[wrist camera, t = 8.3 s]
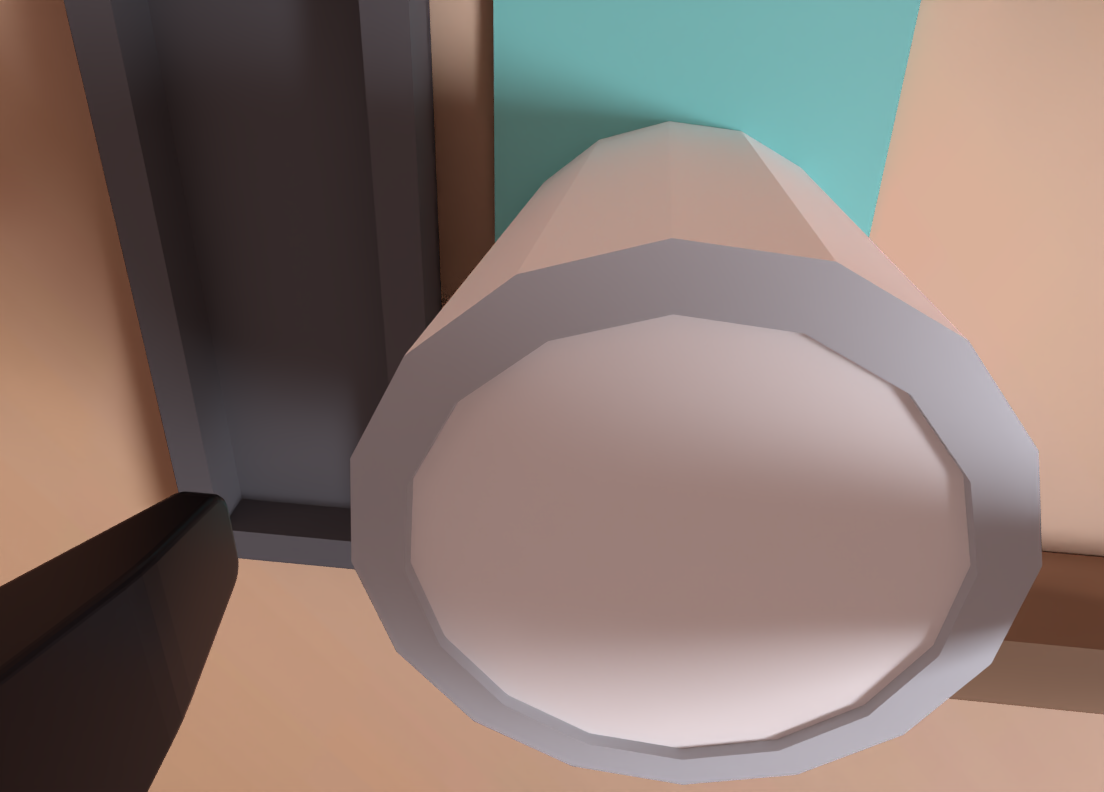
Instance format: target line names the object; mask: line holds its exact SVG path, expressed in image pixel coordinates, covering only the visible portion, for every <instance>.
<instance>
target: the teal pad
mask: <svg viewBox="0 0 1104 792" xmlns="http://www.w3.org/2000/svg"><path fill="white" fill-rule="evenodd" d="M920 2H921V0H493V27H494V176H495V242H496V241H497V240H498V239H499V238H500V236H501V235H502V234H503V233H504V231H505V230H506V229H507V228H508V226H509V225H510V224H511V223H512V221H513V220H514V219H515V218H516V216H517V215H518V214H519V213H520V211H521V210H522V209H523V208H524V207H525V205H526V204H527V203H528V202H529V200H530V199H531V198H532V197H533V195H534V194H535V193H536V192H537V190H538V189H539V188H540V187H541V185H542V184H543V183H544V182H545V181H546V180H547V179H549V178H550V177H551V176H553V175H554V174H555V173H556V172H558V171H559V170H560V169H562V168H563V167H564V166H566V165H567V164H568V163H569V162H571V161H572V160H573V159H575V158H576V157H577V156H579V155H580V154H581V153H582V152H584V151H585V150H586V149H588V148H589V147H590V146H592V145H593V144H594V143H596V142H597V141H598V140H600V139H604V138H607V137H611V136H615V135H619V134H622V133H626V132H630V131H634V130H637V129H641V128H645V127H649V126H653V125H656V124H660V123H664V122H668V121H672V122H679V123H686V124H694V125H701V126H708V127H715V128H723V129H730V130H737V131H742V132H743V133H745V134H747V135H748V136H750V137H752V138H753V139H755V140H757V141H758V142H760V143H761V144H763V145H765V146H766V147H768V148H770V149H771V150H773V151H775V152H776V153H778V154H779V155H781V156H783V157H784V158H786V159H788V160H789V161H791V162H792V163H794V164H796V165H797V166H799V167H801V168H802V169H803V170H804V171H805V172H806V173H807V174H808V175H809V177H810V178H811V179H812V180H813V181H814V182H815V183H816V184H817V185H818V186H819V187H820V188H821V189H822V190H823V191H824V192H825V193H826V194H827V195H828V196H829V197H830V198H831V199H832V200H833V201H834V202H835V203H836V204H837V205H838V206H839V207H840V208H841V210H842V211H843V212H844V213H845V214H846V215H847V216H848V217H849V218H850V219H851V220H852V221H853V222H854V223H855V224H856V225H857V226H858V227H859V228H860V229H861V230H862V231H863V232H864V233H865V234H866V235H867V236H868V237H869V235H870V230H871V225H872V221H873V216H874V212H875V207H876V203H877V198H878V194H879V189H880V184H881V180H882V175H883V171H884V166H885V162H886V157H887V152H888V148H889V143H890V139H891V134H892V130H893V125H894V121H895V116H896V111H897V107H898V102H899V98H900V93H901V89H902V84H903V79H904V75H905V70H906V66H907V61H908V57H909V52H910V47H911V43H912V38H913V34H914V29H915V25H916V20H917V16H918V11H919V6H920Z"/></svg>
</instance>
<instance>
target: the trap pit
mask: <svg viewBox="0 0 1104 792" xmlns="http://www.w3.org/2000/svg"><path fill="white" fill-rule="evenodd" d="M64 4H65V8H66V12H67V17H68V21H69V25H70V29H71V34H72V38H73V42H74V46H75V51H76V55H77V59H78V64H79V68H80V72H81V76H82V81H83V85H84V89H85V94H86V98H87V102H88V106H89V111H90V115H91V119H92V124H93V128H94V132H95V136H96V141H97V145H98V149H99V153H100V158H101V162H102V166H103V171H104V175H105V179H106V183H107V188H108V192H109V196H110V201H111V205H112V209H113V213H114V218H115V222H116V226H117V231H118V235H119V239H120V243H121V248H122V252H123V256H124V260H125V265H126V269H127V273H128V278H129V282H130V286H131V290H132V295H133V299H134V303H135V308H136V312H137V316H138V320H139V325H140V329H141V333H142V338H143V342H144V346H145V350H146V355H147V359H148V363H149V367H150V372H151V376H152V380H153V385H154V389H155V393H156V397H157V402H158V406H159V410H160V415H161V419H162V423H163V427H164V432H165V436H166V440H167V445H168V449H169V453H170V457H171V462H172V466H173V470H174V474H175V479H176V483H177V487H178V492H186V491H188V492H199V493H211V494H217V495H219V496H221V497H222V498H223V499H224V500H225V502H226V504H227V507H228V510H229V515H230V520H231V525H232V530H233V535H234V540H235V545H236V550H237V555H238V558H242V559H253V560H263V561H273V562H284V563H294V564H305V565H315V566H326V567H336V568H347V569H355V568H354V566H353V564H352V562H351V486H350V458H351V456H352V454H353V452H354V450H355V448H356V446H357V445H358V443H359V441H360V439H361V437H362V435H363V433H364V431H365V429H366V427H367V426H368V424H369V422H370V420H371V418H372V416H373V414H374V412H375V410H376V408H377V407H378V405H379V403H380V401H381V399H382V397H383V395H384V393H385V391H386V389H387V388H388V386H389V384H390V382H391V380H392V378H393V376H394V374H395V372H396V370H397V369H398V367H399V365H400V363H401V361H402V359H403V357H404V355H405V354H406V353H407V352H408V350H409V349H410V348H411V347H412V345H413V344H414V343H415V342H416V341H417V339H418V338H419V337H420V336H421V334H422V333H423V332H424V331H425V329H426V328H427V327H428V326H429V324H430V323H431V322H432V321H433V319H434V318H435V317H436V316H437V314H438V313H439V312H440V311H441V310H442V305H441V281H440V256H439V232H438V207H437V182H436V158H435V133H434V109H433V84H432V59H431V35H430V10H429V0H64Z"/></svg>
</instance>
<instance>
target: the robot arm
mask: <svg viewBox="0 0 1104 792" xmlns="http://www.w3.org/2000/svg"><path fill="white" fill-rule="evenodd" d="M237 575H238V555H237V550H236V545H235V540H234V535H233V530H232V525H231V520H230V515H229V510H228V507H227V504H226V502H225V500H224V499H223V498H222V497H221V496H219V495H217V494H211V493H199V492H188V491H186V492H178V493H176V494H174V495H172V496H170V497H168V498H166V499H164V500H162V501H161V502H159V503H157V504H155V505H153V506H151V507H149V508H147V509H146V510H144V511H142V512H140V513H138V514H136V515H134V516H132V517H130V518H129V519H127V520H125V521H123V522H121V523H119V524H117V525H115V526H113V527H112V528H110V529H108V530H106V531H104V532H102V533H100V534H98V535H97V536H95V537H93V538H91V539H89V540H87V541H85V542H83V543H81V544H80V545H78V546H76V547H74V548H72V549H70V550H68V551H66V552H65V553H63V554H61V555H59V556H57V557H55V558H53V559H51V560H49V561H48V562H46V563H44V564H42V565H40V566H38V567H36V568H34V569H32V570H31V571H29V572H27V573H25V574H23V575H21V576H19V577H17V578H15V579H14V580H12V581H10V582H8V583H6V584H4V585H2V586H0V792H148V790H149V788H150V786H151V784H152V782H153V780H154V778H155V776H156V774H157V772H158V770H159V768H160V766H161V764H162V762H163V760H164V758H165V756H166V754H167V752H168V750H169V748H170V746H171V744H172V742H173V740H174V738H175V736H176V734H177V732H178V730H179V728H180V726H181V723H182V721H183V719H184V717H185V714H186V712H187V709H188V707H189V704H190V702H191V700H192V697H193V694H194V692H195V689H196V687H197V684H198V681H199V679H200V676H201V673H202V671H203V668H204V665H205V663H206V660H207V657H208V655H209V652H210V649H211V647H212V644H213V641H214V639H215V636H216V633H217V631H218V628H219V625H220V623H221V620H222V617H223V615H224V612H225V610H226V607H227V604H228V602H229V599H230V596H231V594H232V591H233V588H234V586H235V583H236V579H237Z"/></svg>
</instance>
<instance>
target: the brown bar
mask: <svg viewBox="0 0 1104 792" xmlns="http://www.w3.org/2000/svg"><path fill="white" fill-rule="evenodd" d="M948 699H958V700H968V701H978V702H988V703H997V704H1007V705H1017V706H1027V707H1037V708H1046V709H1056V710H1066V711H1076V712H1086V713H1095V714H1104V557H1095V556H1084V555H1073V554H1061V553H1050V552H1042V567H1041V569H1040V571H1039V573H1038V575H1037V577H1036V579H1035V581H1034V583H1033V585H1032V586H1031V588H1030V590H1029V592H1028V594H1027V596H1026V598H1025V600H1024V602H1023V604H1022V606H1021V608H1020V609H1019V611H1018V613H1017V615H1016V617H1015V619H1014V621H1013V623H1012V625H1011V627H1010V629H1009V631H1008V633H1007V634H1006V636H1005V638H1004V640H1003V642H1002V644H1001V646H1000V648H999V650H998V652H997V654H996V656H995V657H994V659H993V661H992V663H991V664H990V665H989V666H988V667H987V668H985V669H984V670H983V671H982V672H981V673H979V674H978V675H977V676H976V677H974V678H973V679H972V680H971V681H969V682H968V683H967V684H966V685H964V686H963V687H962V688H961V689H960V690H958V691H957V692H956V693H955V694H953V695H952V696H951V697H950V698H948Z"/></svg>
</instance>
